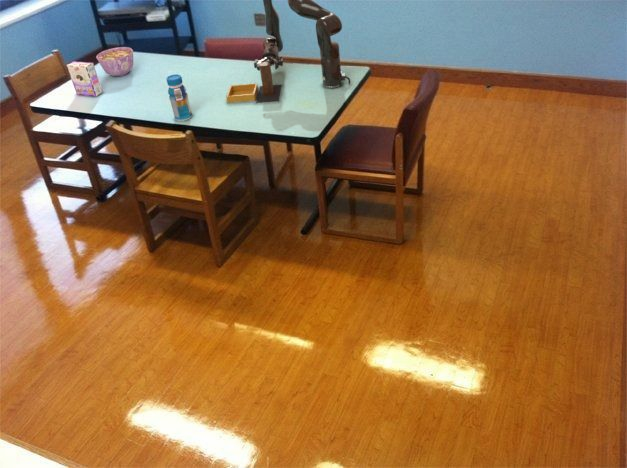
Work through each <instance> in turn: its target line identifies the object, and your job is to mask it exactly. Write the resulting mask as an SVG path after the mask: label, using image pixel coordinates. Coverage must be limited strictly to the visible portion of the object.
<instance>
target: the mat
mask: <svg viewBox="0 0 627 468" xmlns="http://www.w3.org/2000/svg"><path fill="white" fill-rule="evenodd" d="M282 86H283V84H273V87H274V94H273V95H270V96H266V95H264V92H263V86H262V85H261V86H260V87H259V88H258V92H257V96H256V100H255V103H256V104H262V103H275V102H279V101H280V97H281V91H282Z"/></svg>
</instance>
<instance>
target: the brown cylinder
mask: <svg viewBox="0 0 627 468" xmlns="http://www.w3.org/2000/svg"><path fill="white" fill-rule="evenodd" d="M259 67H260V71H259V73H260V79H261V86H263V92H264V95H266V96H270V95H273V94H274V87H273V85H274V80H273V74H272V66H270V63H269V62H262V63H260V64H259Z"/></svg>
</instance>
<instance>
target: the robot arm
mask: <svg viewBox="0 0 627 468" xmlns="http://www.w3.org/2000/svg"><path fill="white" fill-rule="evenodd" d="M262 3H263V8H264V14H265V33H266V34H267V35H268V36H271V37H266V38H264V39H263V41H262V42H263V43H262V47H263V53H262V56H261V59H260V60H259V59H258V58H255V59H254V62H253V67H254V69H256V70H257V71H259V72H260V67H259V64H260V63H262V62H269V63H270V67H274V68H275V70H278V69H279V68H280V67H283V66H284V61H283V60H284V59H283V56H279V53H280V52H282V50H283V49H284V43H283V39H282V35H281V31H280V16H279V14H278V12H277V10H276V9H275V7H274V5H273V0H262ZM287 4H288V6H289V9H290V10H292V11H293V12H294V13H295V14H296V15H298V16H299V17H301V18H305V19H308V20H314V21H315V32H316V37H317V38H316V39H317V46H318V48H319V55H320V65H321V66H320V67H321V80H322V86H323V88H325V89H326V88H327V89H335V88H339V87H343V82H344V81H345V82H346V79H347V80H348V84H351V79H350V77H348V76H347V75H346V73H345V72H342V66H341V54H340V53H341V52H340V44H339V43H338V42H337V41H333V40H332V39H331V37H332V36H335V35H337V34H339V33H340V32H341V31H342V29H343V22H342V20H341V19H340V17H339V16H338V15H336V14H335V13H334V12H331V11H330V10H328V9H326V8H325V7H323V6H321V5H320V4H319V3H317V2H315V1H314V0H287Z"/></svg>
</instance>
